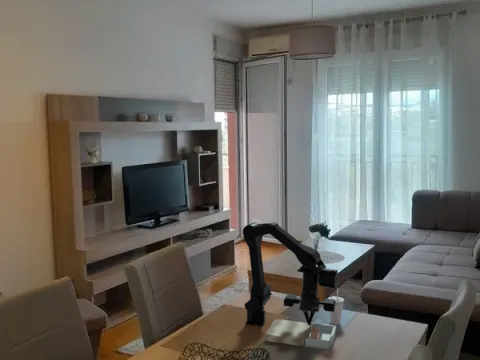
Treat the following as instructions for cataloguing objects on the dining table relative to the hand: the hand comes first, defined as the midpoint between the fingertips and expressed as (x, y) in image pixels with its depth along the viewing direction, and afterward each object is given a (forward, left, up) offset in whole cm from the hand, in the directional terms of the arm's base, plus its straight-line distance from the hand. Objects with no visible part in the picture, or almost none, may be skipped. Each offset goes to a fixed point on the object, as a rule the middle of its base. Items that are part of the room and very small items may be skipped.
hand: (309, 324), depth 186 cm
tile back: (+2, 0, -1) cm, 2 cm away
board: (-7, -3, -4) cm, 9 cm away
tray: (+5, -3, -4) cm, 7 cm away
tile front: (+2, -7, -1) cm, 8 cm away
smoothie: (+8, +14, -4) cm, 17 cm away
